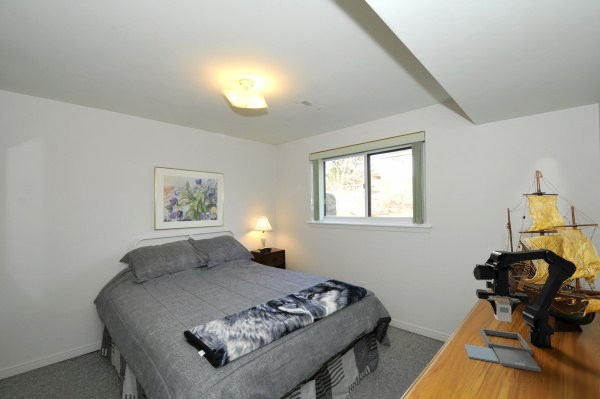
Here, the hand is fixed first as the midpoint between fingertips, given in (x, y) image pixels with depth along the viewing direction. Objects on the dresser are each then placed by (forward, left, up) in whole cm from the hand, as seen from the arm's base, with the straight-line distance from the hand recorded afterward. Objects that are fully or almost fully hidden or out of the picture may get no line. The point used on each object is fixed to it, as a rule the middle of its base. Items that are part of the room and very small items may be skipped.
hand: (502, 315), depth 118 cm
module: (0, 0, -2) cm, 2 cm away
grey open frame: (0, +6, -12) cm, 13 cm away
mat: (+11, +13, -12) cm, 21 cm away
